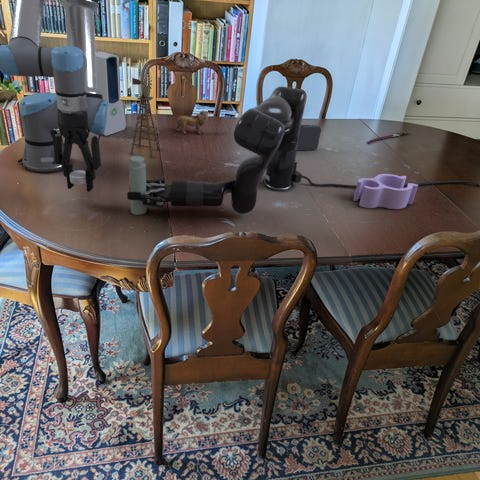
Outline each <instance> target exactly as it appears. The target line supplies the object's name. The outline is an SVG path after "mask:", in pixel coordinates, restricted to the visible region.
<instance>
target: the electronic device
mask: <svg viewBox="0 0 480 480" xmlns="http://www.w3.org/2000/svg"><path fill="white" fill-rule="evenodd" d="M119 69H120V68H119V56H118V55H115V54H112V53H109V52H104V51H96V70H97V89H98V91H99V92H100V93H101V94H102V97H103V100H106V101H107V119H106V128H105V132H104V134H103V135H102V136H105V137H107V136H110V135H112V134H113V135H114V134H117V133H119V132H121V131H124V130H125V129H126V127H127V123H126V114H125V107H124V102H123V101H122V100H121V91H120V70H119Z"/></svg>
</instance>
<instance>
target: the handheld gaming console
mask: <svg viewBox="0 0 480 480" xmlns="http://www.w3.org/2000/svg"><path fill="white" fill-rule="evenodd" d="M321 133H322V127H321V126H319V125H318V124H301V128H300V134H299V140H298V146H297V151H312V150H317V148H318V147H319V144H320V137H321Z"/></svg>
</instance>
